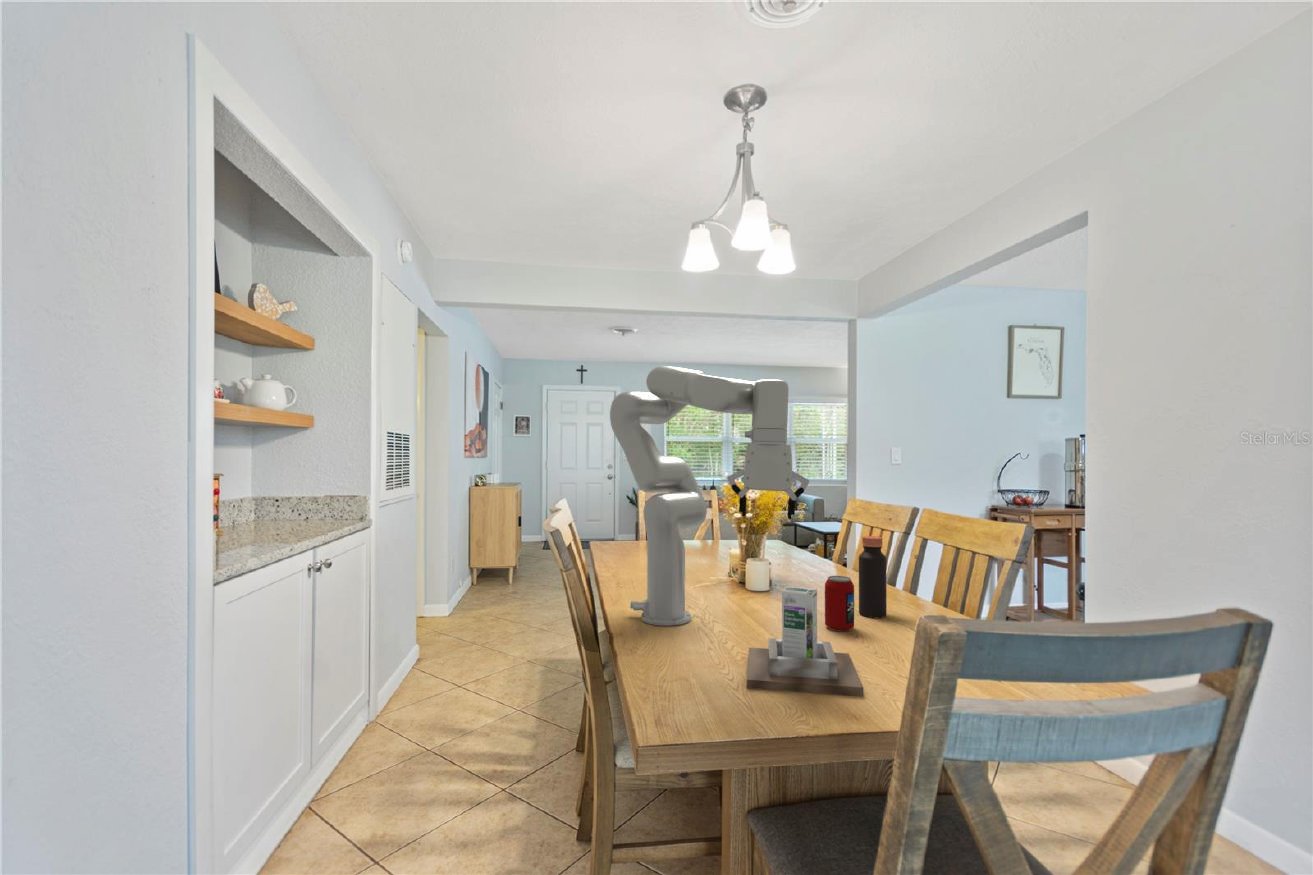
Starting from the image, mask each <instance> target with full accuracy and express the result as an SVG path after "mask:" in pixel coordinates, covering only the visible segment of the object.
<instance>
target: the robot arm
mask: <svg viewBox="0 0 1313 875" xmlns="http://www.w3.org/2000/svg"><path fill="white" fill-rule="evenodd" d="M645 381H646V382H645V383H646V387H647V389H648V391H649V392H647V391H637V390H631V391H623V392H621V393H619V394H617V395H616V396H615V398H613V400H612V402H611V405H610V409H609V418H610V419H609V422H610V427H611V430H612V431H613V434H614V436H615V438H616V440H617V442H618V443H619V445H620V447H621V449H622V450H623V453H624V455H625V458H626V461H627V463H628V466H629V468H630V471H631V473H632V475H633V477H634V480H635V482H636V485H637V487H638V488H639V489H640V491H642V492H645V493H650V494H652V493H653V495H651V496H650V497H649V498H648V499H647V500H646V501H645V503H644V506H643V511H642V512H643V514H642V515H643V520H644V521H643V522H644V526H645V532H646V546H647V550H646V552H647V553H646V555H647V557H646V558H647V560H646V562H647V563H646V564H647V565H646V566H647V567H646V568H647V570H646V572H647V576H646V577H647V579H646V580H647V581H646V583H647V584H646V588H647V589H646V592H647V593H646V600H643V601H639V600H630V603H629V604H630V610H633V611H642V612H641V614H640V619H641V621H642V622H644V623H646V624H648V625H649V624H650V625H655V626H665V627H666V626H671V627H672V626H680V625H683V624H687V623H689V622H691V621H692V614H691V613H690V612H689V611H686V547H685V543H684V541H683V540H684V539H683V538H682V535H681V533H680V531H681V530H685V529H693V528H696V527H699V526H701V525H702V524H703V523H704V522H705V520H706V518H707V512H708V511H707V504H706V500H705V497H704V495H703V493H702V491H701V489H700V486H699V484H698V482H697V480H696V477H695V475H694V473H693V471H692V469H691V467H690V465H689V464H688V463H687V462H686V461H685V460H684V459H683V458H681V457H678V456H672V455H669V456H668V455H666V456H665V455H662V454H661V453H660V451H659V449H658V448H657V447H658V446H657V445H656V442H655V440H654V439H653V437H652V436H651V435H650V433H649V432H648V431H647V430H646V429H645V428H644V427H643V426H642V425H641V424H644V425H647V424H648V425H662V424H663V425H664V424H665V423H668V422H670V421H671V420H672V419H673V418H675V417H676V416H677V415H678V414H680V412H681V411H682V410H684V408H685V407H687V406H691V407H695V408H698V409H699V408H700V409H703V410H708V411H712V412H717V413H724V414H725V413H726V414H737V415H751V429H750V430H748V431H747V430H746V431H744V438H747V439H750V441H751V442H750V443H749V442H747V445H746V450H745V456H744V464H743V466H744V468H743V469H741V470H739V471H735V472H734V473H732V474H730V475H728V476H727V477H726V480H727V481H728V484H729V486H730V487H731V490H732V491H733V492H734V493H735V494H736V495H737V496H738V498H739V500H738V501H739V502H738V503H739V505H738V506H739V507H738V508H739V509H738V512H740V513H741V517H746V516H747V493H748V492H749V491H750V490H752V491H753V490H754V491H767V492H769V491H770V492H771V491H772V492H785V493H786V494H787V496H788V500H787V519H789V520H792V516H795V514H796V500H797V499H799V497H800V496H802V494H804V492H805V490H806V489H807V487H808V486H809V483H810V480H809V479H808V478H806V477H804V476H803V475H801V474H799V473H798V472H795V471H794V470H793V454H792V448H791V444H788V443H787V442H788V421H789V420H788V418H789V417H788V416H789V413H788V412H789V384H788V383H787V381H785V380H782V379H775V378H774V379H771V378H770V379H757V380H756V381H751V380H744V379H737V378H728V377H720V376H712V375H707V374H706V373H705V372H703V371H701V370H695V369H689V368H685V367H677V366H669V365H661V366H657V367H655V368H652V370H650V372H649V373H648V374H647V377H646V380H645ZM741 477H743V485H744V486H743V487H742V489H741V488H740V487H739V485H737V482H736V479H739V478H741ZM793 479H794V480H796V481H798V482H800V486H799V487H798V488H797V489H796V490H795V491H794V490H793V489H792V486H793ZM654 493H656V494H654ZM679 530H680V531H679Z"/></svg>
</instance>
